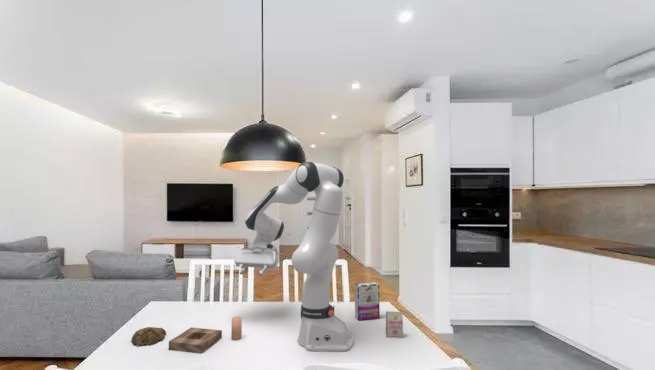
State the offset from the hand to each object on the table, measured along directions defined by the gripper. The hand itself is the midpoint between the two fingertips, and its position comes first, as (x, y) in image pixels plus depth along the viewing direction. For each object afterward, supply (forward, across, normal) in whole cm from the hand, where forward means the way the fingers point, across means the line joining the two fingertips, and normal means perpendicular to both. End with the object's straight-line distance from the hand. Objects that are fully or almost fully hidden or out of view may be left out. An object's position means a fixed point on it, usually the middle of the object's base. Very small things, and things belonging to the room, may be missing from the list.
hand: (251, 274), depth 150 cm
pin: (+26, 0, +7) cm, 26 cm away
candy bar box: (+1, +50, +31) cm, 59 cm away
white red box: (+13, +63, +18) cm, 67 cm away
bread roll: (+32, -34, +1) cm, 47 cm away
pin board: (+31, -13, +1) cm, 34 cm away
